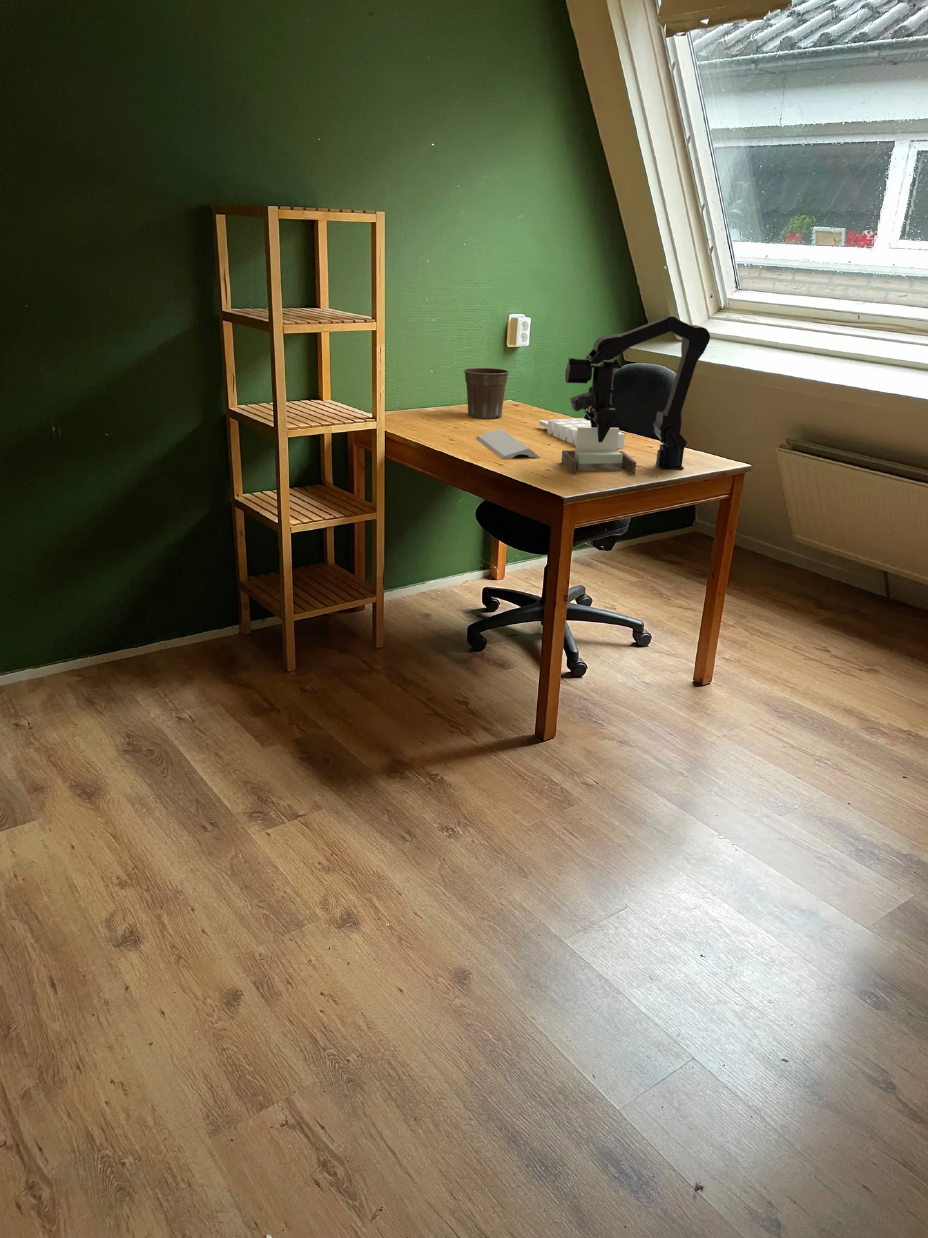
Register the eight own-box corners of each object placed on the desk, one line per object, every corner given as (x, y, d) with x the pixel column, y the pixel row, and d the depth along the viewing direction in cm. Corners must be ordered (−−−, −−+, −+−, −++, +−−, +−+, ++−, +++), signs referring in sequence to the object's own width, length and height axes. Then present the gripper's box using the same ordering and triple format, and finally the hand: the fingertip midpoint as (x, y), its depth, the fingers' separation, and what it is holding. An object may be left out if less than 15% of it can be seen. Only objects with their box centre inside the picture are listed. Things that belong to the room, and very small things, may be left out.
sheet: (614, 465, 262) (618, 427, 258) (615, 466, 261) (619, 428, 257) (574, 465, 261) (577, 427, 256) (574, 466, 260) (578, 427, 256)
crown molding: (475, 440, 291) (475, 428, 290) (511, 439, 294) (511, 428, 293) (502, 461, 265) (503, 449, 264) (541, 460, 268) (542, 448, 267)
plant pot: (458, 411, 333) (459, 366, 326) (501, 411, 336) (503, 367, 329) (466, 420, 318) (468, 373, 312) (511, 420, 321) (513, 373, 315)
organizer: (588, 436, 278) (536, 415, 308) (587, 451, 280) (535, 429, 309) (624, 433, 283) (570, 413, 312) (623, 449, 285) (569, 427, 314)
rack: (621, 462, 266) (622, 450, 264) (635, 474, 253) (636, 462, 252) (561, 462, 264) (562, 450, 262) (572, 474, 251) (573, 461, 249)
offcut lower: (617, 468, 261) (618, 460, 260) (621, 471, 257) (622, 463, 256) (574, 468, 259) (574, 460, 258) (577, 471, 255) (578, 463, 254)
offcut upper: (617, 460, 260) (618, 451, 259) (622, 462, 257) (623, 454, 256) (574, 460, 257) (575, 452, 256) (578, 463, 254) (579, 454, 253)
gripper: (566, 378, 259) (562, 432, 266) (581, 388, 242) (577, 446, 249) (604, 379, 261) (599, 433, 267) (622, 389, 244) (616, 447, 250)
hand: (597, 439), depth 258 cm, fingers open, 6 cm apart
